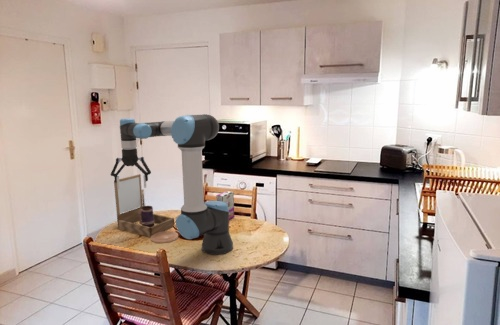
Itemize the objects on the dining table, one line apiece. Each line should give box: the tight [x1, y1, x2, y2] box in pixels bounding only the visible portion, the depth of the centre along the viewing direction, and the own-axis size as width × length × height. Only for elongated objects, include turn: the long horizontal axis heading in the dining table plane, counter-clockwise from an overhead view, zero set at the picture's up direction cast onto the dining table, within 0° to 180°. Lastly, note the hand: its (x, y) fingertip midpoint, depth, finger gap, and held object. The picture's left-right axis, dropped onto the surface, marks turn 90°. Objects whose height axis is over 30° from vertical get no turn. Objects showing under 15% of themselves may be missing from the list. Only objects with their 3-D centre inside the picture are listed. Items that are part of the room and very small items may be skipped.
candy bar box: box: [216, 190, 235, 221], centre depth 210 cm, size 11×5×16 cm, turn 147°
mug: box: [138, 205, 155, 227], centre depth 199 cm, size 10×7×12 cm
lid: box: [113, 174, 143, 216], centre depth 203 cm, size 1×18×20 cm, turn 149°
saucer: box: [150, 230, 179, 244], centre depth 184 cm, size 14×14×1 cm
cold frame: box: [116, 188, 175, 238], centre depth 198 cm, size 26×18×19 cm
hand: (132, 187), depth 187 cm, fingers open, 13 cm apart
